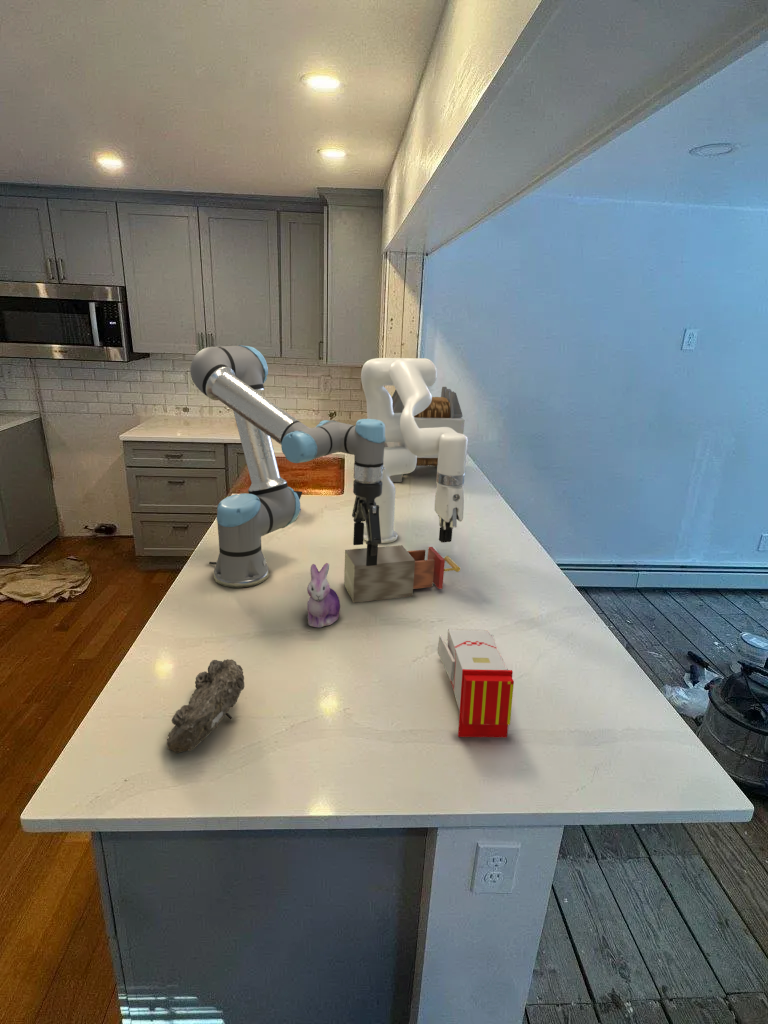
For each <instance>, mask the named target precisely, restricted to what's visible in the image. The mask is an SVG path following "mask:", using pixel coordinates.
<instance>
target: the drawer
mask: <svg viewBox="0 0 768 1024" xmlns="http://www.w3.org/2000/svg"><path fill="white" fill-rule="evenodd" d="M407 551H408V553H409V554H410V555H411V556H412V557H413V559H414V560H415V568H414V583H413V590H415V589H416V590H417V589H425V588H432V587H433V584H434V585H435V587H436V588H437V589H438V590H442V589H443V588H444V576H445V575H444V574H445V572H453V571H454V572H456V573H459V572H460V571H461V567H460V566H459V565H458V564H457V563H456V562H455V561H454V560H453V559H452V558H451V557H450V556H449V555H446V556H445V557H443V556H442V555H441V554H440V553H439V552H438V551H437V549H436V548H434V547H433V546H428V549H427V559H426V549H415V550H407ZM446 563H447V564H448V565H449V566H450V567H447V568H445V566H446Z"/></svg>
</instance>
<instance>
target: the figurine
mask: <svg viewBox="0 0 768 1024" xmlns="http://www.w3.org/2000/svg"><path fill="white" fill-rule="evenodd" d="M329 570H330V563H329V562H326V563H324V564H323V566H322V567H321V569H320V570H319V569H318V567H317V565H316V564H315V563H312V564H311V565H310V581H309V582H308V585H307V589H306V590H307V594H308V596H309V598H308V600H307V602H306V608H307V620H308V621H307V624H308V626H310V627H314V628H323V627H325V626H330V625H333V624H334V623H335V622H336V621H338V620H339V617H340V612H341V601H340V597H339V595H338V593H337V591H335V590H334V589H333V588H331V586H330V583H329V582H328V579H327V578H328V574H329Z"/></svg>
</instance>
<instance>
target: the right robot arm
mask: <svg viewBox="0 0 768 1024" xmlns="http://www.w3.org/2000/svg"><path fill="white" fill-rule="evenodd" d="M360 374H361V375H360V381H361V385H362V390H363V393H364V397H365V401H366V402H365V403H366V417H367V418H366V419H375V420H380V421H382V422H383V423H384V424H385V438H386V439H385V443H389V442H398V446H392V447H391V446H390V447H384V459H383V461H384V462H383V467H385V470H384V471H383V479H382V480H381V481H382V494H381V495H380V496H379V497H376V498H375V502H376V505H379V521H380V533H381V544H389V543H393V542H395V541H397V540H398V537H399V534H398V532H397V531H396V530H395V528H394V527H395V510H396V509H395V508H396V507H395V506H396V486H395V484H394V482H392V481H391V480H390V476H391V475H398V474H403V475H405V474H406V475H407V474H410V473H412V472H414V471H415V469H416V468H417V466H416V464H417V456H426V455H438V465H437V466H436V480H435V483H436V490H435V497H434V512H435V513H436V514H437V516H438V521H439V523H438V524H439V525H438V526H439V530H438V531H439V533H438V540H439V542H440V543H452V539H453V530H454V528H457V527H458V526H457V525H458V524H457V523H458V522H463V521H464V511H465V510H464V509H465V492H464V486H465V476H466V466H467V455H468V444H469V440H468V439H469V438H468V436H466V434H464V433H463V434H460V433H457V432H455V431H454V430H453V429H452V428H449V427H434V428H420V429H419V428H418V426H417V424H416V422H415V420H414V416H415V415H417V414H419V413H421V412H422V411H424V410H425V409H426V408H427V407H428V406H429V405H430V403H431V401H432V397H433V396H432V393H431V392H430V389H429V387H432V386H434V385H435V383H436V381H437V378H438V370H437V366H436V364H435V363H434V362H433V360H431V359H429V358H425V357H421V358H419V357H416V358H415V357H376V358H371V359H368V360H367V361H365V362H364V364H363V365H362V367H361V372H360ZM387 386H393V387H394V389H395V390H396V391H397V393H398V395H399V397H400V399H401V401H402V403H403V405H404V409H403V411H402V413H394V412H393V401H392V395H391V394H390V392H389V390H388V389H387V388H386V387H387ZM457 521H458V522H457ZM363 522H364V538H363V541H366V542H367V541H368V534H367V527H366V521H363Z"/></svg>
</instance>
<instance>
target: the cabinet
mask: <svg viewBox="0 0 768 1024" xmlns="http://www.w3.org/2000/svg"><path fill="white" fill-rule="evenodd" d="M408 551H409V550H407V549H406V548H405V546H404V545H402V544H399V545H388V546H378V553H377V565H374V566H366V556H367V547H364V548H350V549H344V570H343V571H344V574H343V575H344V576H343V577H344V578H343V585H344V587H345V590H346V591H347V593H348V595H349V597H350V599H351V601H352V603H353V604H354V603H355V604H356V603H365V602H373V601H383V600H390V599H391V600H392V599H399V598H400V599H401V598H409V597H413V596H414V589H413V583H414V568H415V560H414V559H413V557H412V556H411V555H410V554H409V553H408Z"/></svg>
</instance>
